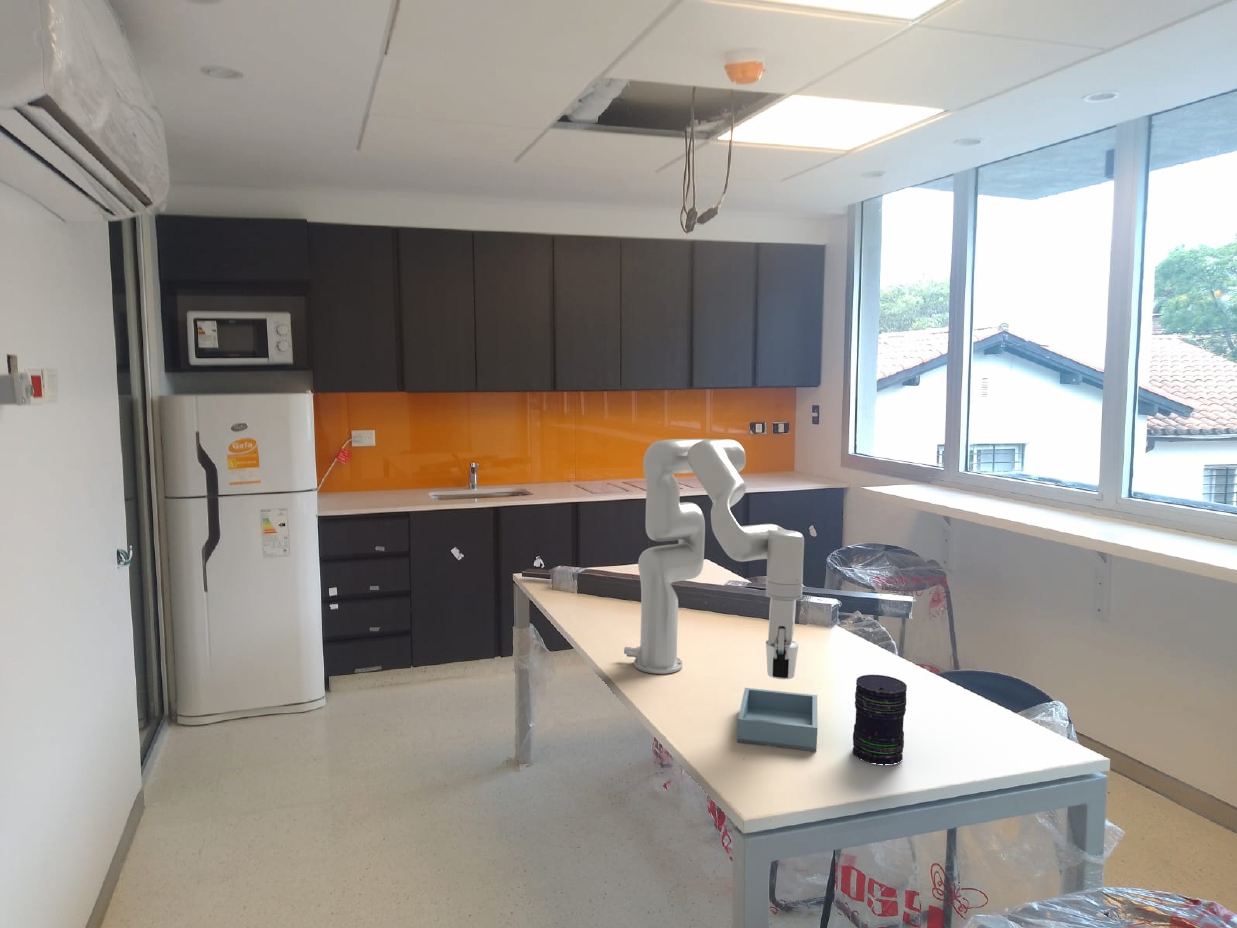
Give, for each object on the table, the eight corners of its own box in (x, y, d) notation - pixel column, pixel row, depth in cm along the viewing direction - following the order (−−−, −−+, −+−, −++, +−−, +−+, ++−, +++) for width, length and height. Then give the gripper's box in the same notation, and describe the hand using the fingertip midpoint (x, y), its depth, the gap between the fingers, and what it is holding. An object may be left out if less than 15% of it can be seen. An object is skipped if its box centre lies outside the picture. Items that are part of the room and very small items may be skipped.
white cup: (799, 671, 180) (800, 640, 179) (794, 682, 173) (796, 649, 172) (767, 667, 182) (768, 636, 181) (761, 677, 175) (763, 645, 175)
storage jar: (852, 740, 174) (856, 671, 172) (902, 747, 171) (906, 677, 169) (851, 761, 164) (855, 688, 163) (904, 769, 161) (908, 695, 160)
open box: (737, 742, 172) (737, 718, 171) (744, 708, 189) (744, 687, 189) (816, 751, 168) (817, 727, 168) (816, 716, 186) (817, 695, 185)
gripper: (768, 578, 185) (765, 657, 187) (763, 597, 168) (760, 684, 170) (802, 580, 183) (799, 660, 185) (801, 600, 166) (798, 688, 168)
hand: (780, 671), depth 177 cm, fingers closed on white cup, 5 cm apart
